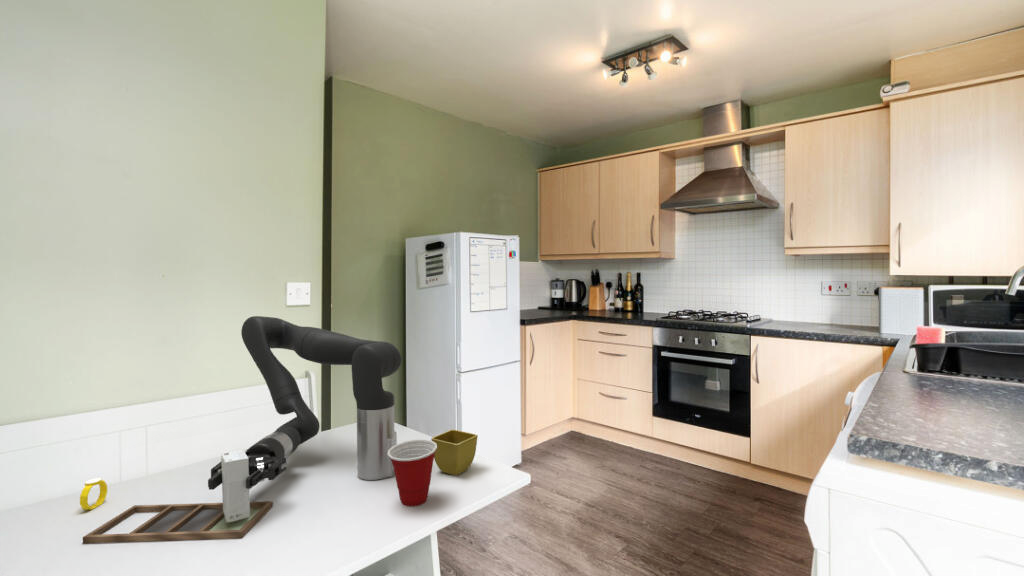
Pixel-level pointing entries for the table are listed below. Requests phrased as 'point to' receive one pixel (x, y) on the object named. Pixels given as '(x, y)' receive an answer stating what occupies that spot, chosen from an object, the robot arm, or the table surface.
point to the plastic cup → (413, 469)
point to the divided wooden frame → (181, 523)
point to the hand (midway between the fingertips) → (229, 484)
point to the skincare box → (235, 485)
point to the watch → (86, 490)
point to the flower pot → (455, 451)
